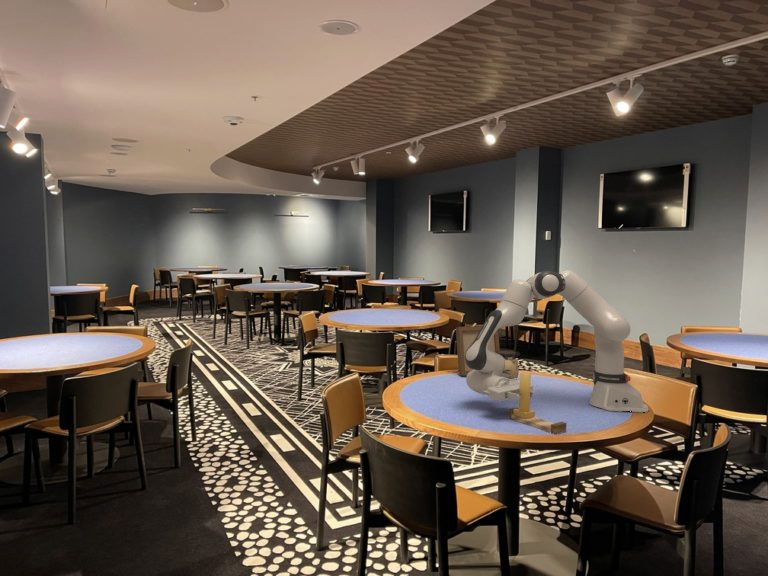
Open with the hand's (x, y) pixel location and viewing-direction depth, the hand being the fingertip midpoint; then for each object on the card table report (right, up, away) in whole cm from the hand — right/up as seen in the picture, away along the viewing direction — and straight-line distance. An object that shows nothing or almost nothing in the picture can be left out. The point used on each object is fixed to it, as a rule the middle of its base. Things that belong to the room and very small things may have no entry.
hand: (526, 395), depth 203 cm
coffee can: (+6, -5, +66) cm, 66 cm away
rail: (+3, -10, -3) cm, 11 cm away
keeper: (-1, -8, +1) cm, 8 cm away
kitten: (+3, -6, +48) cm, 48 cm away
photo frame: (-6, -4, +79) cm, 79 cm away
